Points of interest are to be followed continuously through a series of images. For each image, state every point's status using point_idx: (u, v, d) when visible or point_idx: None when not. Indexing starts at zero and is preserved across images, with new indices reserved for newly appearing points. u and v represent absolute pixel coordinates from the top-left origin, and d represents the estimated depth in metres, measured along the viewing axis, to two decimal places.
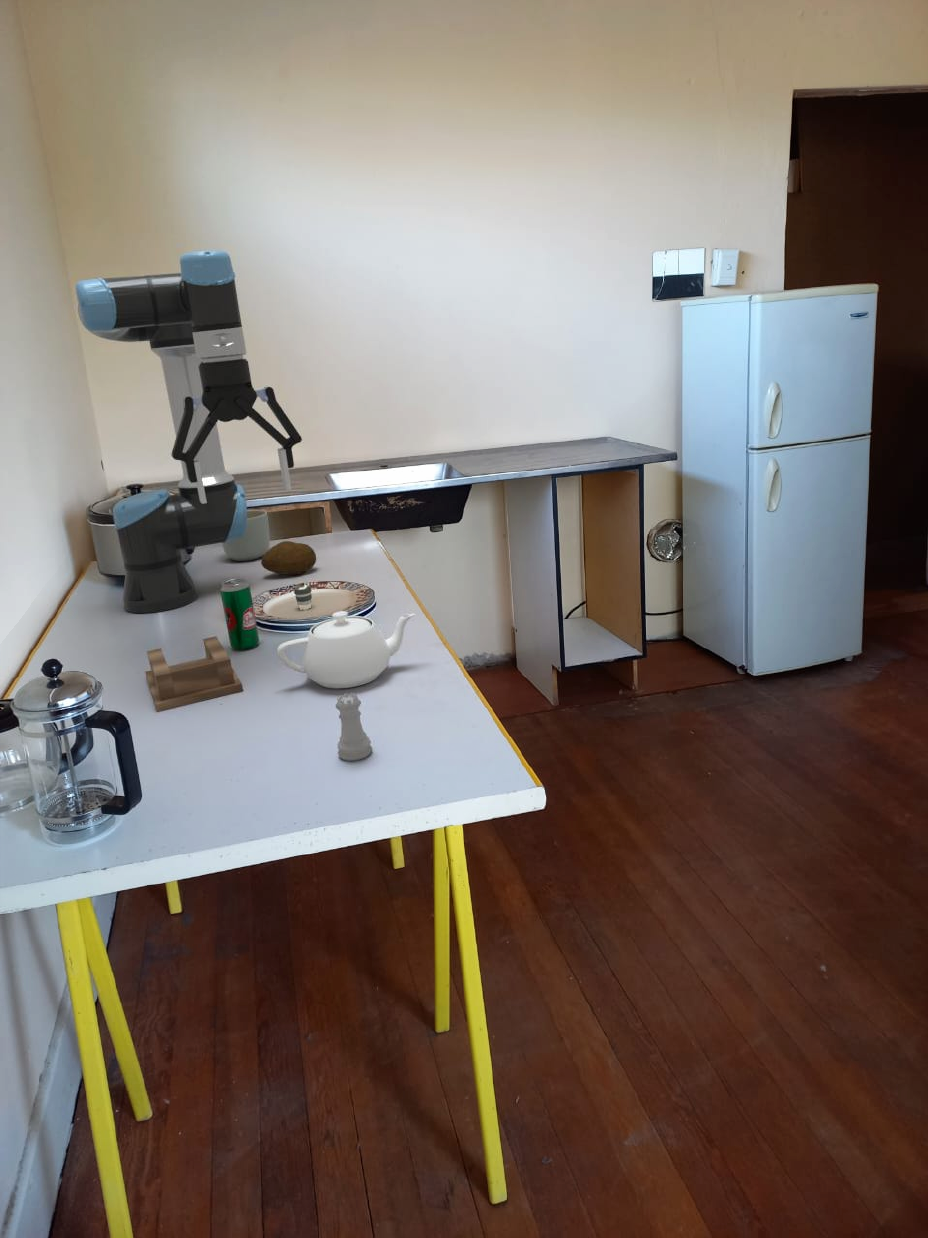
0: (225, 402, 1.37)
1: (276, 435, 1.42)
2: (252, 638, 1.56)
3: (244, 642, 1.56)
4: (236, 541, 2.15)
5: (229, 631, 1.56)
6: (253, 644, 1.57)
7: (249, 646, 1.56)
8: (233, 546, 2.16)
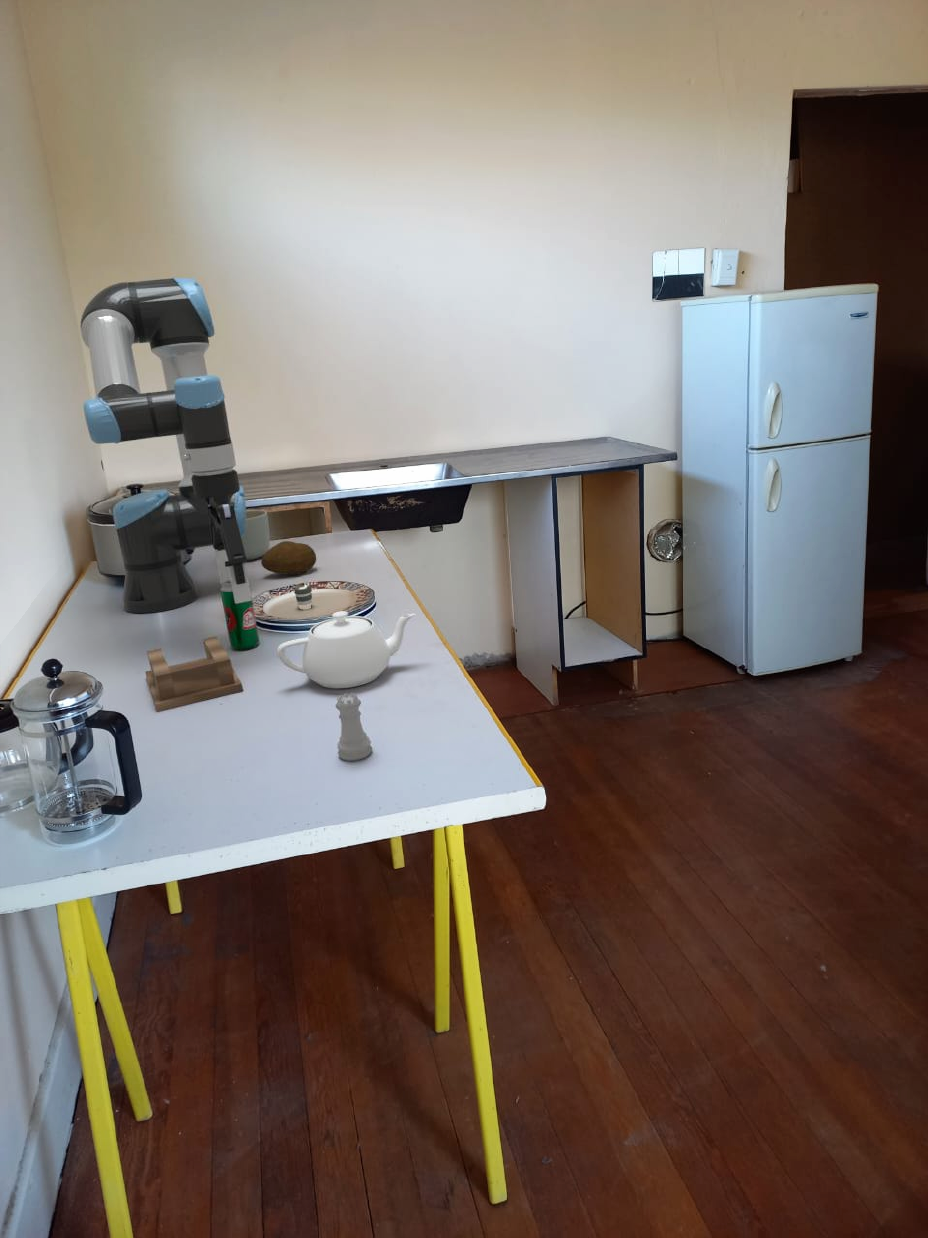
0: (207, 509, 1.51)
1: (225, 550, 1.47)
2: (252, 638, 1.56)
3: (244, 642, 1.56)
4: None
5: (229, 631, 1.56)
6: (253, 644, 1.57)
7: (249, 646, 1.56)
8: None
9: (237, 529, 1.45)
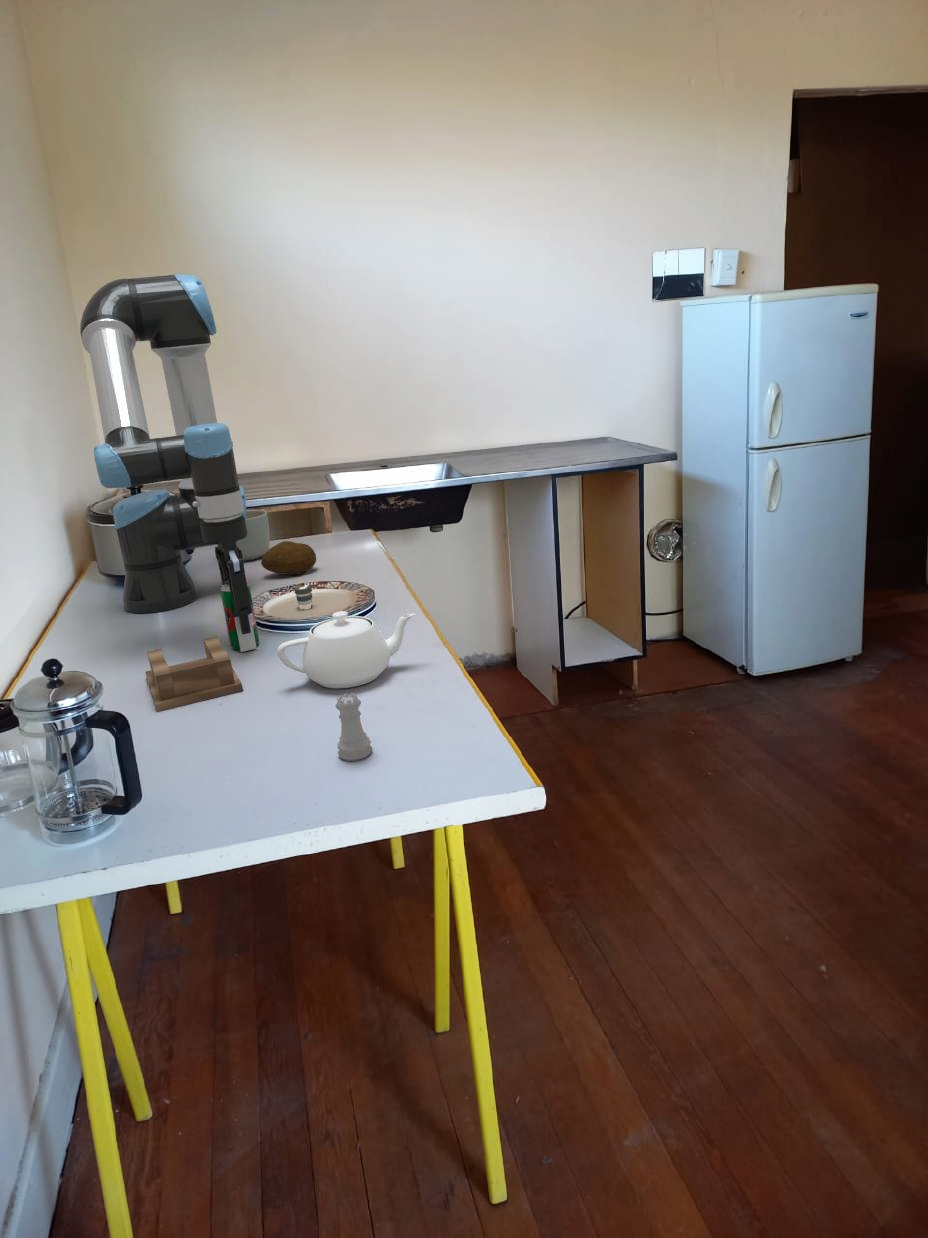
0: (215, 553, 1.53)
1: (232, 600, 1.52)
2: None
3: None
4: None
5: (229, 631, 1.56)
6: None
7: None
8: None
9: (245, 583, 1.50)
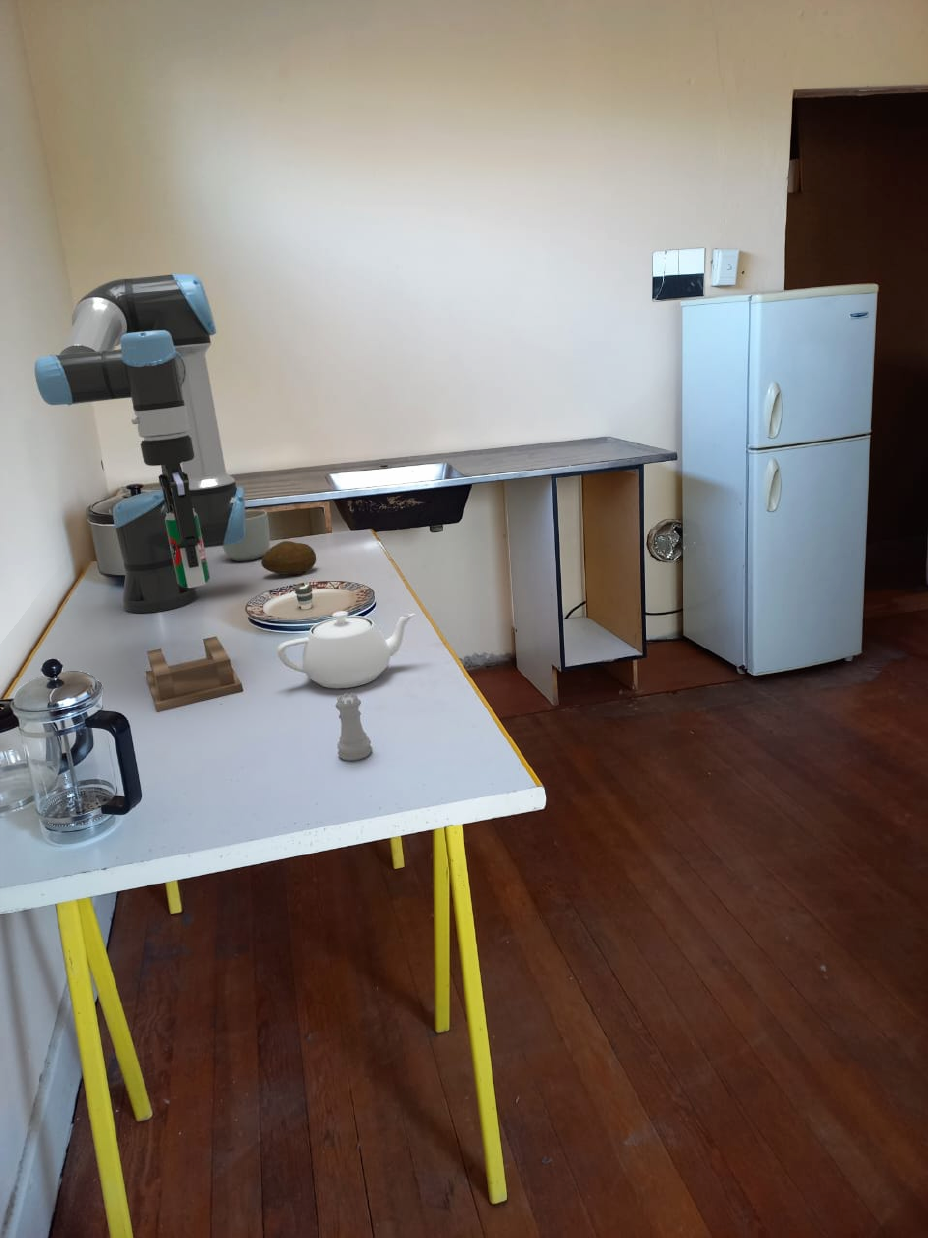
0: (159, 478, 1.38)
1: (177, 529, 1.37)
2: None
3: None
4: None
5: (175, 566, 1.41)
6: None
7: None
8: (233, 546, 2.16)
9: (191, 509, 1.35)
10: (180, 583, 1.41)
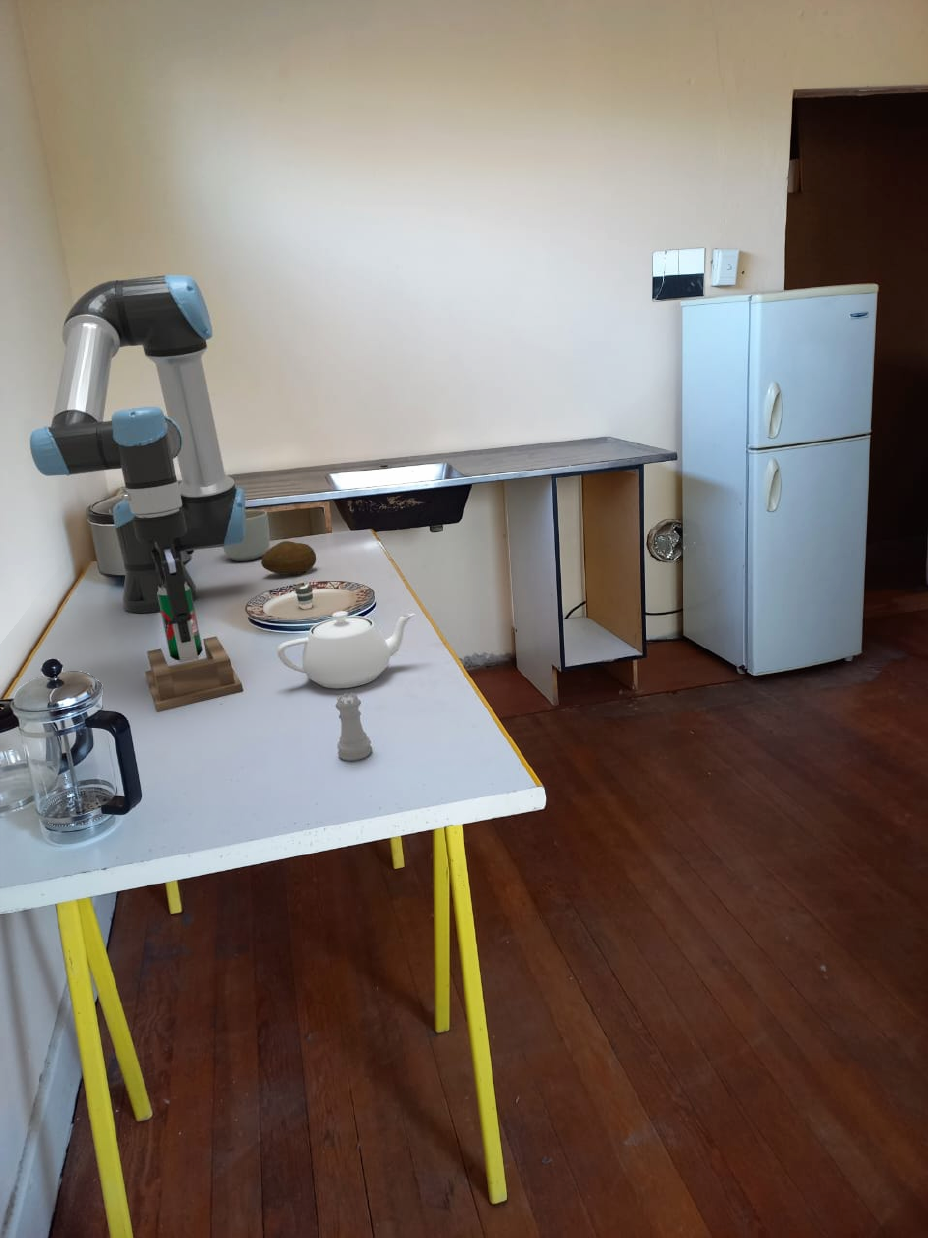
0: (151, 552, 1.37)
1: None
2: None
3: None
4: None
5: (168, 639, 1.40)
6: None
7: None
8: (233, 546, 2.16)
9: (182, 586, 1.34)
10: (172, 656, 1.41)
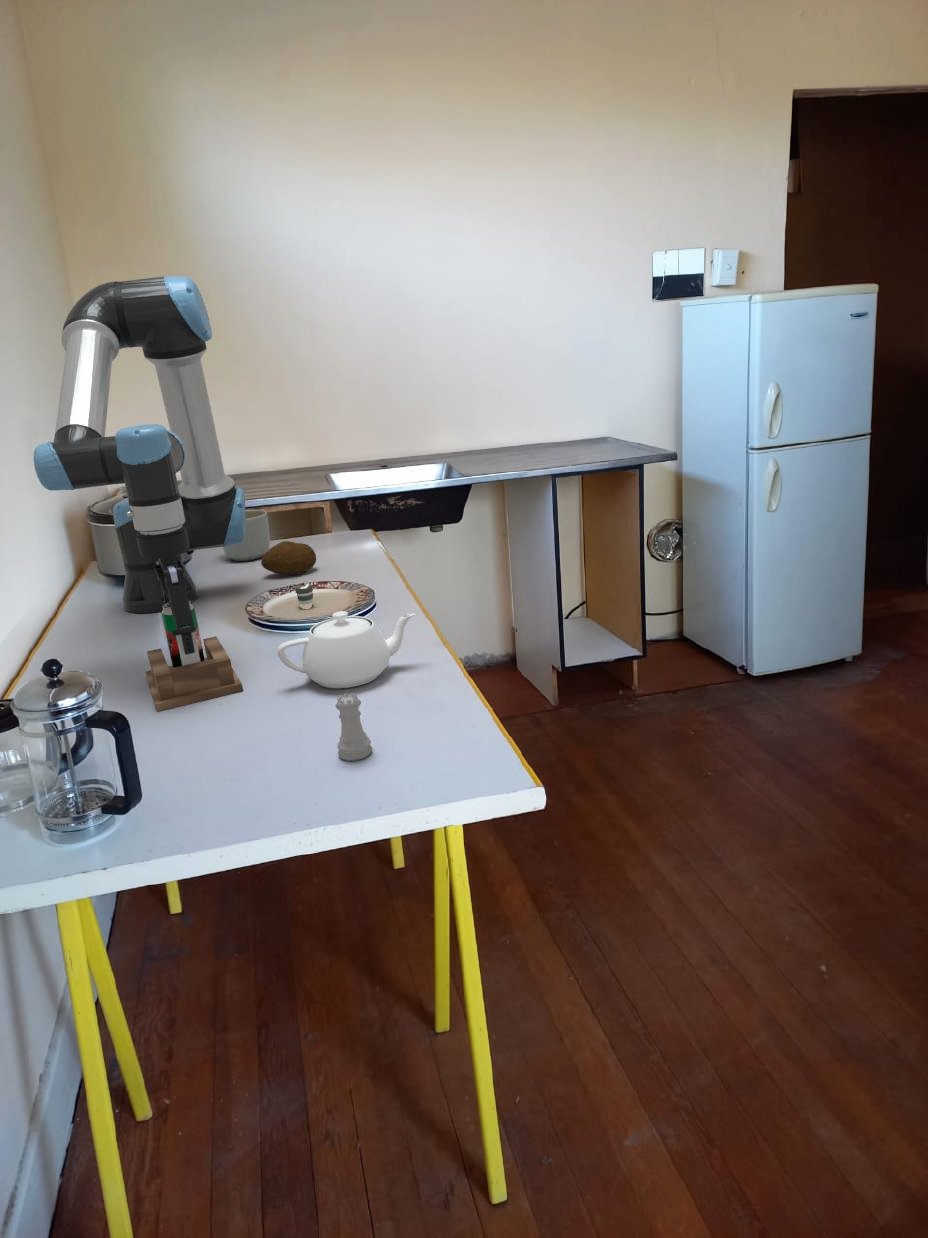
0: (154, 568, 1.39)
1: (173, 617, 1.35)
2: None
3: None
4: None
5: (172, 658, 1.41)
6: None
7: None
8: (233, 546, 2.16)
9: (185, 596, 1.33)
10: None
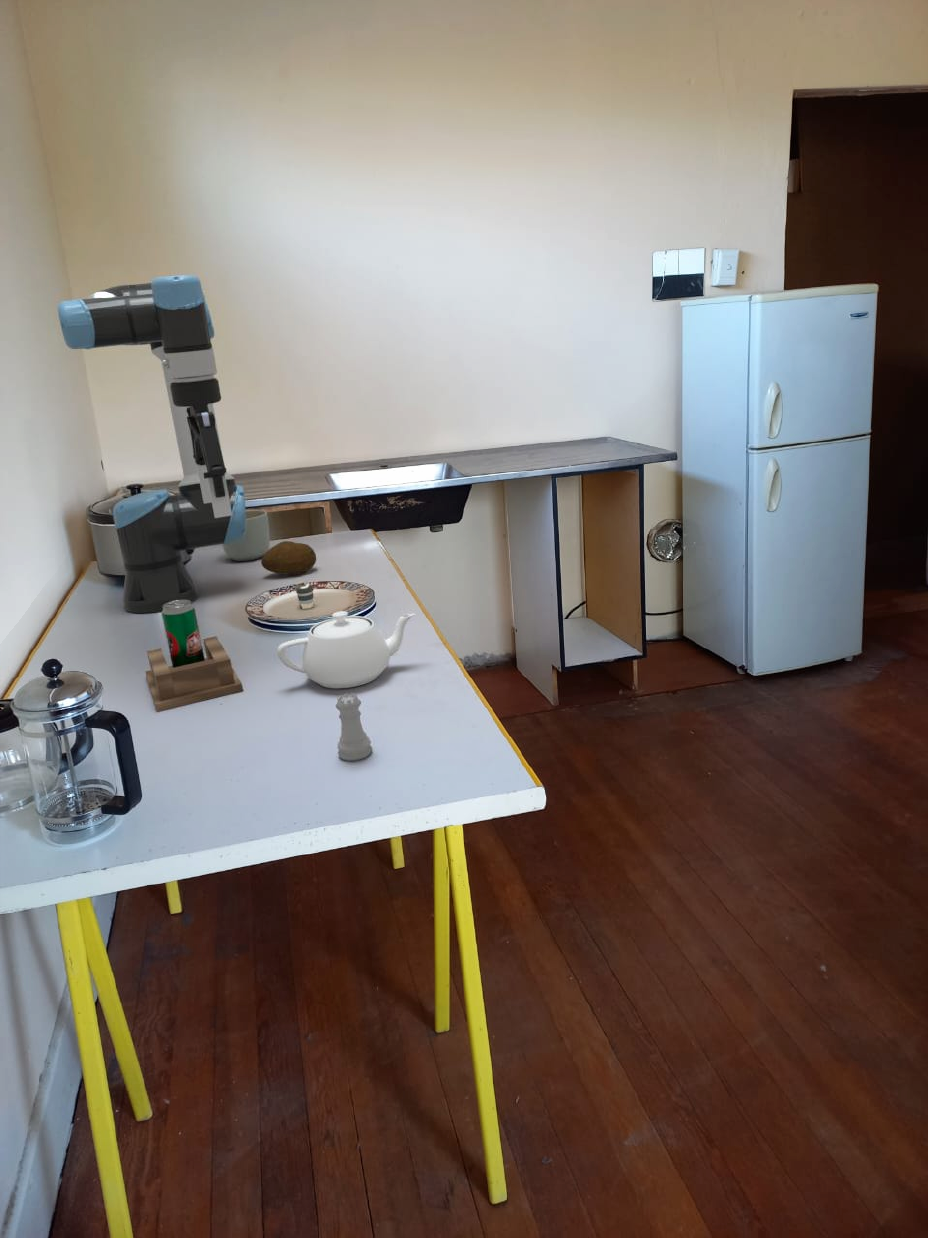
0: (187, 419, 1.44)
1: (205, 461, 1.41)
2: None
3: None
4: (236, 541, 2.15)
5: (172, 658, 1.41)
6: None
7: None
8: (233, 546, 2.16)
9: (216, 439, 1.39)
10: None
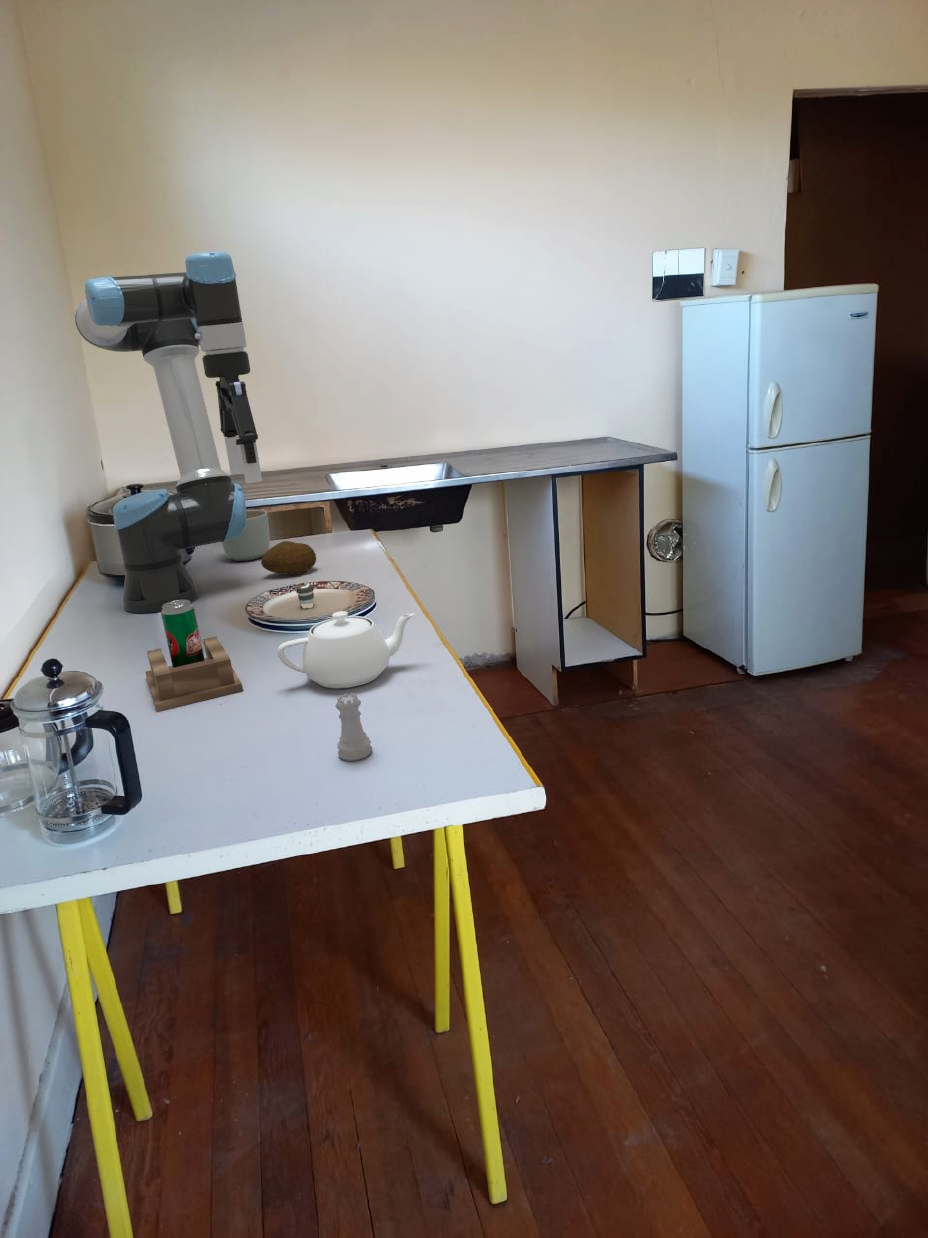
0: (218, 391, 1.51)
1: (236, 429, 1.47)
2: None
3: None
4: (236, 541, 2.15)
5: (172, 658, 1.41)
6: None
7: None
8: (233, 546, 2.16)
9: (248, 407, 1.45)
10: None
